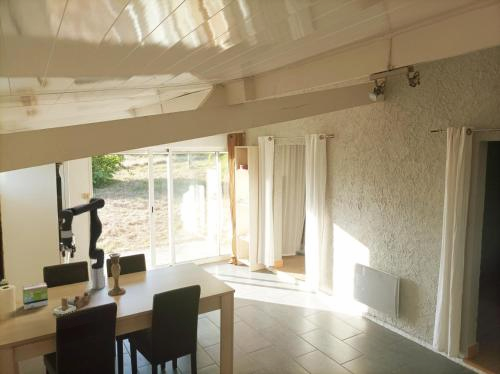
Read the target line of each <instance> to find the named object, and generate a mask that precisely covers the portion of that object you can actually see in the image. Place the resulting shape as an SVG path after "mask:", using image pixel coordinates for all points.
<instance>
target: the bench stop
mask: <svg viewBox="0 0 500 374" xmlns="http://www.w3.org/2000/svg"><path fill="white" fill-rule="evenodd" d="M79 296H80V295H76V296H75V297H74V298H75V300H74V306H76V310H78V309H79V308H82V307H84V306H85V305H88V304H90V303H91V295H90V294H89V292H88V291H86V292H83V295H82V296H80V297H79Z"/></svg>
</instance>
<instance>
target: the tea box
mask: <svg viewBox="0 0 500 374" xmlns="http://www.w3.org/2000/svg"><path fill="white" fill-rule="evenodd" d="M48 296H49V295H48V285H47V283H46V282H40V283H35V284H30V285H29V284H28V285H23V286H22V304H23V309H24V310H28V309H33V308H38V307H39V308H40V307H43V306H44V305H45V306H48V305H49V302H48V301H49V300H48V299H49V298H48Z"/></svg>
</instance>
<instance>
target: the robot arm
mask: <svg viewBox="0 0 500 374" xmlns="http://www.w3.org/2000/svg"><path fill="white" fill-rule="evenodd" d="M105 205H106V202H105V199H104V198H103V197H91V198H90V199H89V201H88V203H83V204H79V205H76V206H73V207H70V208H65V209H64V208H63V209H61V210H59V212H58V215H57V216H58V219H61V220H64V222H62V223H61V224H60V231H61V233H60V237H61V243H59V252H61V255H62V258H65V257H66V251H68V252H69V253H70V259H74V257H75V253H76V252H77V249H76V243H74V244H72V243H73V242H74V241H73V228H72V227H73V226H72V225H73V220H74V217H76V216H80V215H82V214H84V213H87V212H89V247H88V258H89V259H91V260H95V261H96V262H94V263H92V264H91V282H92V283H91V285H92V290H102V289H104V288H105V287H106V275H105V273H104V272H105V271H104V270H105V269H104V264H105V251H104V249H103V248H99V247H98V248H97V242H98V240H99V239H100V237H101V236H102V233H103V223H102V222H101V219H100V216H99V215H98V213H99V212H98V210H100V209H101V210H102V208H104V207H105Z"/></svg>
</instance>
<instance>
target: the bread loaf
mask: <svg viewBox="0 0 500 374" xmlns="http://www.w3.org/2000/svg"><path fill="white" fill-rule="evenodd" d="M61 306H62V311H66V310H68V297H62V298H61Z"/></svg>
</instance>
